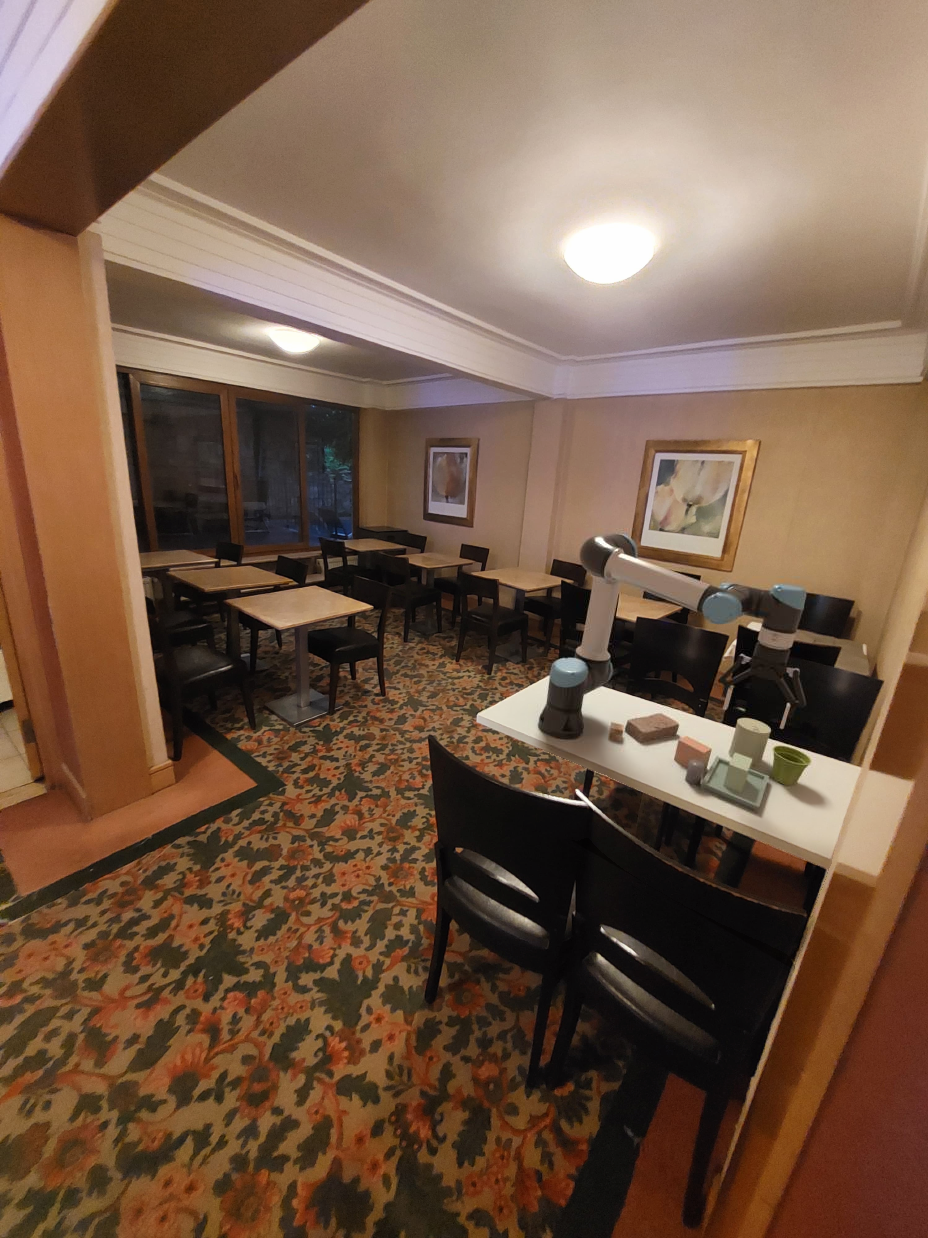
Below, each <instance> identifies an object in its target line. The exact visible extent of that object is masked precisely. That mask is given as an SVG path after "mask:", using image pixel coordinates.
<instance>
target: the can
mask: <svg viewBox="0 0 928 1238" xmlns="http://www.w3.org/2000/svg"><path fill="white" fill-rule="evenodd" d="M771 732H772V729H771V727H770V726H768V724H766V723H764V722H763V721H759V720H757V719H753V718H749V717H741V718H738V719H737V721H736V725H735V730H734V734H733V737H732V741H731V744H730V746H729V749H728V754H729V757H731V758H732V757H733V755H734V753H738V754H741V755H743V756H746V757H749V758H751V759H752V763H751V766H750V767H752V766H753V767H756V766H757V767H758V766H760V765H762V763H763V757H764V754H765V750H766V747H767V743H768V741H769V738H770V735H771Z"/></svg>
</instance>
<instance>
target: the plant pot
mask: <svg viewBox="0 0 928 1238" xmlns="http://www.w3.org/2000/svg"><path fill="white" fill-rule="evenodd" d="M772 752H773V761H772V762H773V763H772V769H771V778H772V779H773V780H775V781H776V782H777V783H781V784H783V785H785V786H789V787H794V786H796V784H797V783H798V782H799V779H800V777H802V774H803V773H804V771H805V769H806V768H808V766H809V765H811V763H812V759H811V758H810V756H808V755H807V754H806V753H804V752H803V751H801V750H799V749H796V748H794V747H790V746H787V745H781V744H780V745H779V744H778V745H774V746H773V747H772Z"/></svg>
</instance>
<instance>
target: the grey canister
mask: <svg viewBox="0 0 928 1238" xmlns="http://www.w3.org/2000/svg"><path fill="white" fill-rule="evenodd" d="M704 768H705V765H704V764H703V763H702V762H700V761H698V760H690V761H689V765H688V767H687V770H686V774H685V778H684V781H685V782H686V783H687V784H688V785H690V786H693V787H699V786H701V784H702V781H703V775H704V772H705V770H704Z"/></svg>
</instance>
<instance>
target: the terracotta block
mask: <svg viewBox="0 0 928 1238" xmlns="http://www.w3.org/2000/svg"><path fill="white" fill-rule="evenodd" d="M712 750H713V748H712V747H710V746H707V745H706V744H703V743H702V742H700V741H698V740H696V739H695V738H694V739H693V738H691V737H690V736H688V735H685V736H684V737H682V738H680V739H678V741H677V745H676V749H675V753H674V758H673V760H675V761H676V762H678V763H680V764H681V765H683V766H685V767H686V768H688V765H689V761H690V760H698V761H700V762H702V763H703V764H704V765H705V768H704V771H705V770H707V768H708V765H709V762H710V757H711V754H712Z"/></svg>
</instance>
